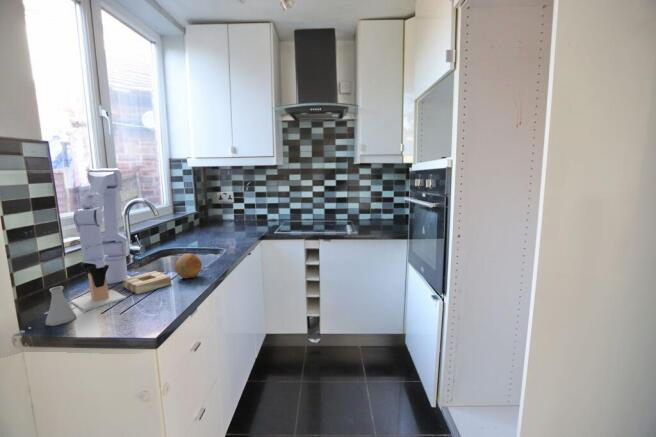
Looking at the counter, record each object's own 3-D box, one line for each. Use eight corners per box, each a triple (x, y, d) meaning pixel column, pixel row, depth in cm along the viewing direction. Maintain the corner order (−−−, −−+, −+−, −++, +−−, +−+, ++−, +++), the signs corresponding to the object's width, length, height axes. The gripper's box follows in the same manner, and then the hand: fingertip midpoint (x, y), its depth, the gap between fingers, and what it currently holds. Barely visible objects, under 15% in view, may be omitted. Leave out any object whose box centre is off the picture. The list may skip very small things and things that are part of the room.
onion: (173, 283, 122) (171, 258, 121) (179, 275, 132) (177, 251, 130) (200, 280, 124) (198, 256, 123) (203, 273, 134) (202, 250, 132)
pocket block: (123, 287, 119) (122, 279, 118) (156, 278, 128) (155, 270, 128) (137, 294, 112) (136, 286, 111) (171, 284, 121) (170, 276, 121)
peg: (91, 298, 107) (87, 273, 105) (105, 295, 110) (102, 270, 108) (94, 301, 104) (91, 275, 103) (109, 297, 107) (105, 272, 106)
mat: (71, 302, 106) (71, 300, 106) (112, 290, 115) (112, 289, 115) (83, 311, 98) (83, 309, 98) (126, 298, 108) (126, 296, 108)
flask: (81, 318, 94) (77, 286, 92) (51, 329, 88) (45, 294, 86) (70, 313, 97) (66, 282, 96) (40, 323, 91) (35, 290, 90)
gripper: (113, 245, 102) (118, 285, 104) (99, 239, 111) (104, 276, 114) (86, 250, 97) (92, 292, 99) (74, 243, 106) (80, 282, 108)
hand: (97, 284), depth 106 cm, fingers open, 6 cm apart
